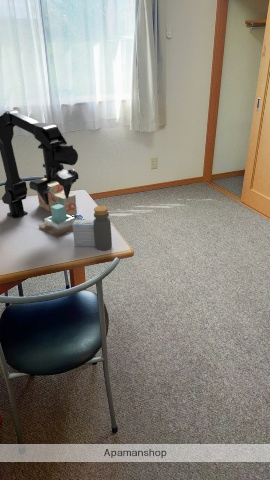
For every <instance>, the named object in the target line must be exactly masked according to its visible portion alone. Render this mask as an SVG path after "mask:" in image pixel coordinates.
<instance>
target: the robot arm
mask: <svg viewBox="0 0 270 480" xmlns="http://www.w3.org/2000/svg"><path fill="white" fill-rule="evenodd" d="M15 127H17V128H20V129H21V130H24V131H25V132H28V133H30V134H32V135H33V136H34V139H35V140H37V141H38V142H39V143H40V144H39V145H38V146H37V148H38V150H39V149H41V150H42V154H43V162H44V163H43V164H42V168H45V174H44V176H43V177H44V178H47V180H41V179H42V178H41V179H40V178H36V179H33V180H30V181H29V183H28V184H29V188H27V187H28V186H27V182H26V180H23V179H21V177H20V175H19V170H18V165H17V160H16V156H15V153H14V147H13V143H12V140H13V138H14V134H15V133H14V128H15ZM0 156H1V160H2V164H3V168H4V169H3V170H4V173H5V177H6V180H5V183H4V184H5V185H4V194H3V195H2V197H1V200H2V204H6V205H8V209H9V212H7V213H6V215H7V216H10V217H11V218H13V219H17V218H19V217H23V216H26V215H27V214H28V211H25V210H24V209H25V208H24V203H23V200H26V199H27V195H28V189H30V190H33V191H36V193H37V192H38V193H39V194H40V196H41V197H42V199H43V200H44V202H45V203H46V205H49V200H48V194H47V193H48V191H49V190H48V189H47V187H48V185H49V184H52V183H55V182H58V183H59V184H60V185H61V186H63V190H64V194H65V197H66V198H68V197H69V193H71V189H72V186H73V184H75V183H76V182H77V180H79V178H80V177H79V173H78V172H77V171H76V170H75V169H74V168H70V169H65V167H64V165H68V166H74V165H76V163H77V162H78V160H79V154H78V152H77V150H76V149H75V148H74V145H73V144H68V142H67V140H66V138H65V137H64V136H63V134H62V133H61V131H60V129H59V127H58V126H57V125H55V124H52V123H49V122H48V123H47V122H40V121H38V120H35V119H33V118H31V117H29V116H26V115H25V114H23V113H21V112H19V110H16V109H13V110H8V111H4V113H3V114H2V115H0ZM44 178H43V179H44ZM38 193H37V194H38Z"/></svg>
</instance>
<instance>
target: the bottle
mask: <svg viewBox="0 0 270 480" xmlns="http://www.w3.org/2000/svg"><path fill="white" fill-rule="evenodd" d="M108 210H109V208H108V206H105V205H97V206H95V207H94V208H93V211H94V213H93V218H94V219H93V220H94V221H93V223H94V235H95V245H96V246H95V249H96V250H97V251H99V252H107V251H109V250H112V248H113V243H112V241H113V239H112V225H111V218H109V216H110V214H109V213H110V212H108Z"/></svg>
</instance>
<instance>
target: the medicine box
mask: <svg viewBox="0 0 270 480" xmlns="http://www.w3.org/2000/svg"><path fill="white" fill-rule="evenodd" d="M93 221H94V219H75V221H74V223H73V225H72V227H73V231H72V232H73V233H72V234H73V242H74V247H96V245H95V235H94V223H93Z"/></svg>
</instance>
